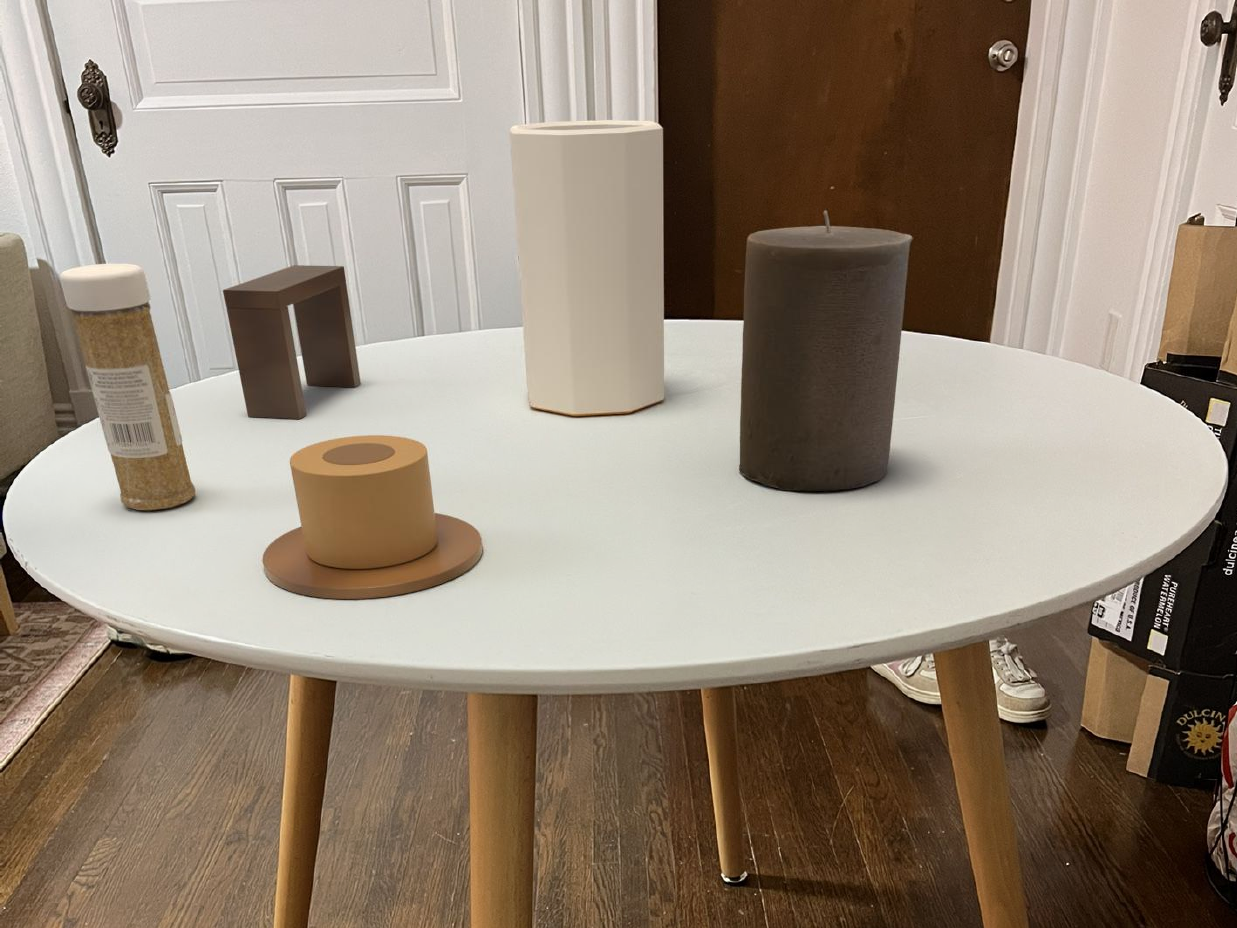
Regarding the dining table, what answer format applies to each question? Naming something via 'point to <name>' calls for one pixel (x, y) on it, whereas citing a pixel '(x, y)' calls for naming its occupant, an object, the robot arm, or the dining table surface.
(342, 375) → the brown arch block
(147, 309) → the spice jar
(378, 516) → the tape roll
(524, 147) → the cream faceted vase
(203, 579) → the dining table surface
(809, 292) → the pillar candle
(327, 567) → the cork mat
